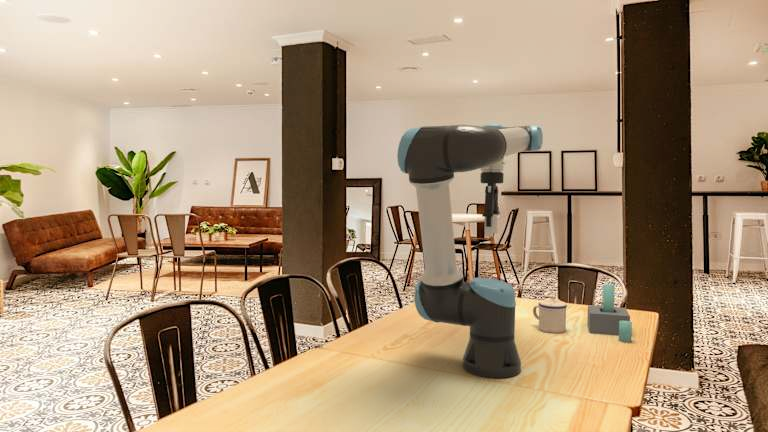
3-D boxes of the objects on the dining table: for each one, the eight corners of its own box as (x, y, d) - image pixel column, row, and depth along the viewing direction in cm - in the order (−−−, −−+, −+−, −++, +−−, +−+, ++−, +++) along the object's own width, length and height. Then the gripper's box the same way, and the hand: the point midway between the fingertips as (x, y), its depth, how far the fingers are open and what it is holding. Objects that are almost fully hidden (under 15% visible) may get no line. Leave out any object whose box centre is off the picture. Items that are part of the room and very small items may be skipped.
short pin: (632, 343, 163) (632, 323, 163) (619, 341, 164) (620, 322, 164) (630, 339, 166) (631, 320, 166) (618, 338, 168) (618, 320, 167)
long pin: (614, 331, 175) (615, 286, 175) (602, 330, 177) (603, 286, 176) (612, 328, 179) (614, 284, 178) (601, 327, 180) (602, 284, 179)
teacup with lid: (571, 330, 177) (572, 295, 177) (556, 335, 171) (557, 299, 171) (540, 322, 186) (541, 290, 186) (525, 327, 181) (525, 293, 180)
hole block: (629, 336, 170) (630, 316, 170) (589, 332, 174) (590, 313, 174) (624, 326, 182) (625, 307, 181) (587, 323, 185) (587, 305, 185)
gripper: (499, 170, 164) (498, 238, 165) (506, 172, 187) (505, 231, 189) (475, 170, 166) (474, 238, 167) (485, 172, 190) (484, 231, 191)
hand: (491, 235), depth 178 cm, fingers open, 13 cm apart
